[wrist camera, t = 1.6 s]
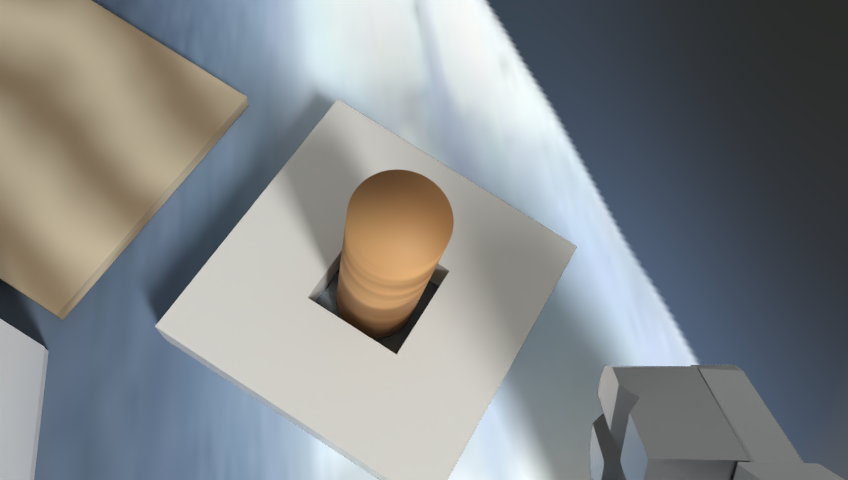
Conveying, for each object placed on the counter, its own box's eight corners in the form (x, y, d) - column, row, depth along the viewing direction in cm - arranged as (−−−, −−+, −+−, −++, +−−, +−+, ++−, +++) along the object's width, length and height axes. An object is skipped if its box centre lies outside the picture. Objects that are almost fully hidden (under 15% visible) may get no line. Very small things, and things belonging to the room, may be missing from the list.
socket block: (422, 508, 37) (432, 507, 34) (166, 340, 38) (155, 326, 35) (559, 263, 43) (577, 246, 40) (335, 125, 44) (337, 98, 41)
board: (62, 320, 37) (56, 315, 36) (-180, 160, 38) (-192, 151, 37) (248, 105, 43) (247, 96, 42) (35, -27, 44) (29, -39, 43)
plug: (387, 353, 39) (418, 289, 28) (320, 310, 39) (325, 230, 28) (428, 289, 41) (472, 205, 30) (363, 248, 41) (383, 151, 30)
